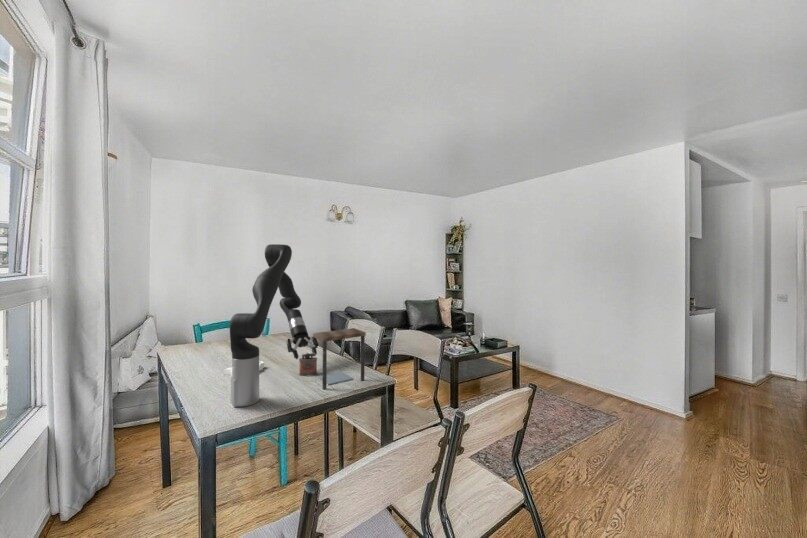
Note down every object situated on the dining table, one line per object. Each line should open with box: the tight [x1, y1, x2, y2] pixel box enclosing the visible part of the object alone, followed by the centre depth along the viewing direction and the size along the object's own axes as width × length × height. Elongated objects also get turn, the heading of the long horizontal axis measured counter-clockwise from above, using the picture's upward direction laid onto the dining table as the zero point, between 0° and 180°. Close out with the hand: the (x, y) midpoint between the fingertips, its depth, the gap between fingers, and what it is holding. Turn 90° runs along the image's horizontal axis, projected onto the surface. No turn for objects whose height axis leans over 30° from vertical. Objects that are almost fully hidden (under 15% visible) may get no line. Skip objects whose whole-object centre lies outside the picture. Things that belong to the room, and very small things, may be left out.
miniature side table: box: [312, 327, 367, 390], centre depth 148 cm, size 20×11×22 cm, turn 126°
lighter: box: [298, 352, 318, 377], centre depth 157 cm, size 8×3×10 cm, turn 105°
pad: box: [317, 370, 354, 386], centre depth 152 cm, size 12×12×1 cm
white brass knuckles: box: [222, 360, 265, 378], centre depth 159 cm, size 3×18×15 cm
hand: (306, 356), depth 158 cm, fingers open, 8 cm apart
